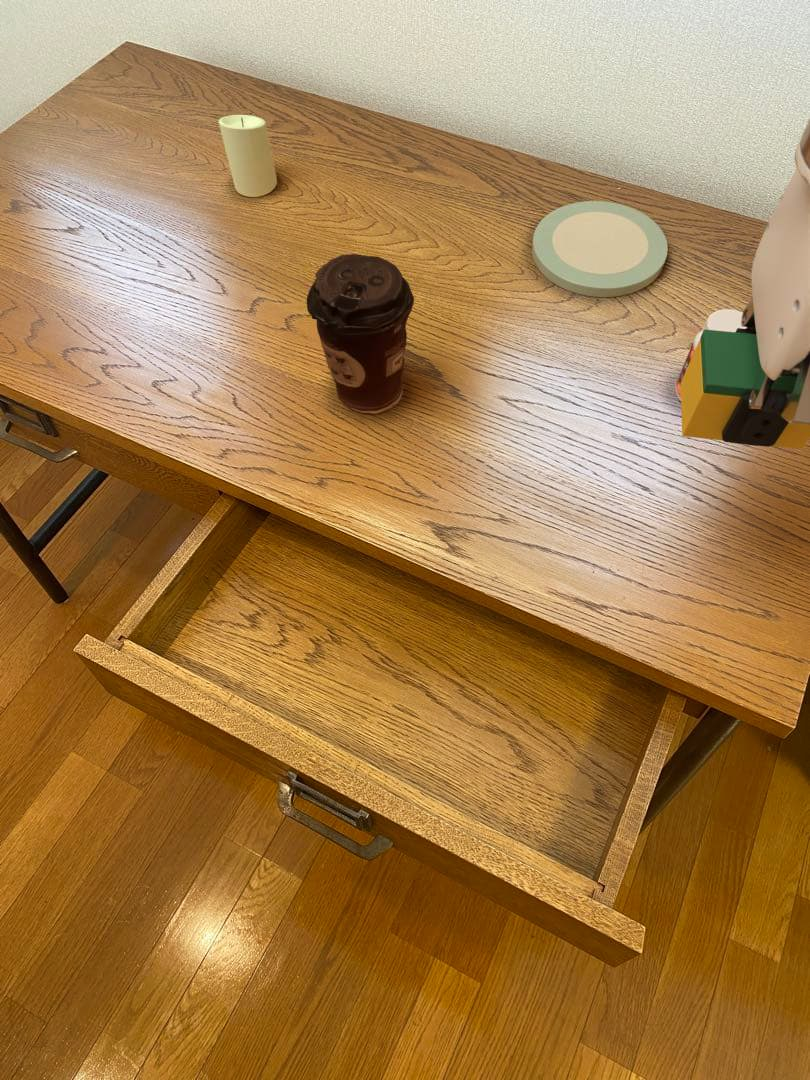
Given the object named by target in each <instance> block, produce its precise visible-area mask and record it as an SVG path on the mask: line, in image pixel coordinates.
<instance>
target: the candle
mask: <svg viewBox="0 0 810 1080" xmlns="http://www.w3.org/2000/svg"><path fill="white" fill-rule="evenodd" d="M217 121H218V126H219V130H220V133H221V138H222V142H223V147H224V150H225V154H226V158H227V161H228V165H229V169H230V170H229V171H230V174H231V177H232V178H231V179H232V182H233V185H234V189H235V191H236V192H237V193H238V194H240V195H241V196H245V197H247V198H248V197H249V198H259V197H263V196H265V195H268V194H269V193H271V192H272V191H273V190H274V189H276V186H277V185H278V179H277V174H276V168H275V163H274V159H273V154H272V148H271V143H270V137H269V132H268V127H267V123H266V120H264V119H263V118H261V117H258V116H255V115H250V114H232V115H231V114H230V115H226V116H223V117H220V118H219V119H218V120H217Z"/></svg>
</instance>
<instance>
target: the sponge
mask: <svg viewBox="0 0 810 1080" xmlns="http://www.w3.org/2000/svg"><path fill="white" fill-rule="evenodd" d="M760 370H761V363H760V358H759V351H758V343H757V335H756V334H747V333H737V332H726V331H716V330H704V331H703V333H702V335H701V338H700V340H699V342H698V345H697V347H696V349H695V352H694V354H693V356H692V358H691V361H690V363H689V365H688V368H687V370H686V372H685V374H684V377H683V379H682V381H681V384H680V385H681V401H680V410H681V411H680V412H681V414H680V415H681V435H682V437H686V438H694V439H695V438H696V439H704V440H706V439H707V440H715V441H723V440H722V431H723V429H724V427H725V426H726V424H727V422H728V420H729V418H730V416H731V415H732V413H733V411H734V409H735V407H736V406H737V404H738V402H739V400H740V398H741V397H742V395H743V393H745V394H751V391H752V389H753V386H754V384H755V382H756V379H757V377H758V375H759V372H760ZM796 380H797V377H793V376H783V375H782V376H781V377H778V378H777V379H776V380H774V382H773V385H772V387H771V390H780V391H790V392H792V391H793V389H794V387H795V383H796ZM809 439H810V425H806V424H796V423H788V425H787V426H786V428H785V429H784V431H783V432H782V434H781V435H780V437H779V438H778V440H777V441H776V443H775V444H774V445H772V446H771V447H779V448H785V449H786V448H787V449H796V450H801V449H803V447H804V446H805V445H806V444H807V442H808V440H809ZM723 442H724V441H723Z"/></svg>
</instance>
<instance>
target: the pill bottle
mask: <svg viewBox="0 0 810 1080" xmlns="http://www.w3.org/2000/svg"><path fill="white" fill-rule="evenodd" d="M742 314H743V311H740V310H736V309H731V308H722V309H718V310H716V311H713V312H712V313H711V314H710V315H709V316H708V317H707V319H706V321H705V324H704V325H703V327H702V329H701V330H700V331H699V332H698V333H697V334H696V335H695V337H694V339H693V340H692V344H691V346H690V349H689V351H688V353H687V356H686V358H685V361H684V363H683V366H682V368H681V370H680V373H679V375H678V378H677V380H676V383H675V384H674V392H675V396H676V398H677V399H678V401H680V402H681V385H680V384H681V381H682V379H683V377H684V374H685V372H686V370H687V368H688V365H689V363H690V361H691V358H692V356H693V354H694V352H695V349H696V347H697V345H698V342H699V340H700V338H701V335H702V333H703V331H704V330H716V331H726V332H736V330H737V328H742V329H746V328H747V327H742V325H741V319H742Z"/></svg>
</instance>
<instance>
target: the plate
mask: <svg viewBox="0 0 810 1080" xmlns="http://www.w3.org/2000/svg"><path fill="white" fill-rule="evenodd" d="M531 242H532V243H531V255H532V259H533V262H534V264H535V266H536V268H537V269H538V270H539V272H540V273H541V274H542V275H543V276H544V277H545V278H546V279H547V280H549V281H550V282H551V283H553V284H554V285H556V286H557V287H559V288H562V289H564V290H566V291H567V292H568V291H569V292H571V293H574V294H577V295H580V296H581V295H582V296H586V297H594V298H615V297H622V296H626V295H627V296H628V295H631V294H633V293H636V292H638V291H641V290H643V289H645V288H646V287H648V286H649V285H651V284H652V283H653V282H654V281H656V279H657V278H658V277H659V276H660V275H661V274H662V271H663V269H664V267H665V263H666V260H667V257H668V252H669V246H668V241H667V237H666V235H665V233H664V231H663V230H662V228H661V227H660V226H659V225H658V224H657V222H656V221H654V220H653V219H652V218H651V217H649V216H648V215H646V214H645V213H644V212H641V211H639V210H638V209H636V208H633V207H631V206H628V205H624V204H622V203H617V202H612V201H606V200H605V201H604V200H585V201H578V202H573V203H569V204H565V205H563V206H561V207H558V208H556V209H554V210H552V211H550V212H549V213H548V214H547V215H545V216H544V217H543V218H542V219H541V220H540V222H539V223H538V224H537V226H536V227H535V230H534V232H533V235H532V241H531Z"/></svg>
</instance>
